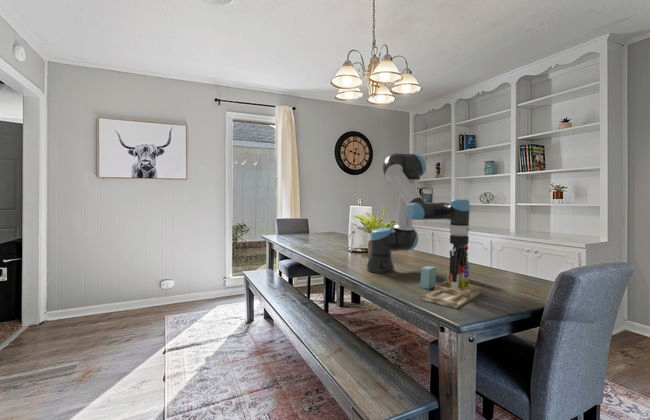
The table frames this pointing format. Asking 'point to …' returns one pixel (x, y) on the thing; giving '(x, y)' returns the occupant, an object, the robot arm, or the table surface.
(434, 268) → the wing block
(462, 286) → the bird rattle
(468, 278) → the stacking toy
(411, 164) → the robot arm
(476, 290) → the jig
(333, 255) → the table surface
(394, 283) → the table surface
